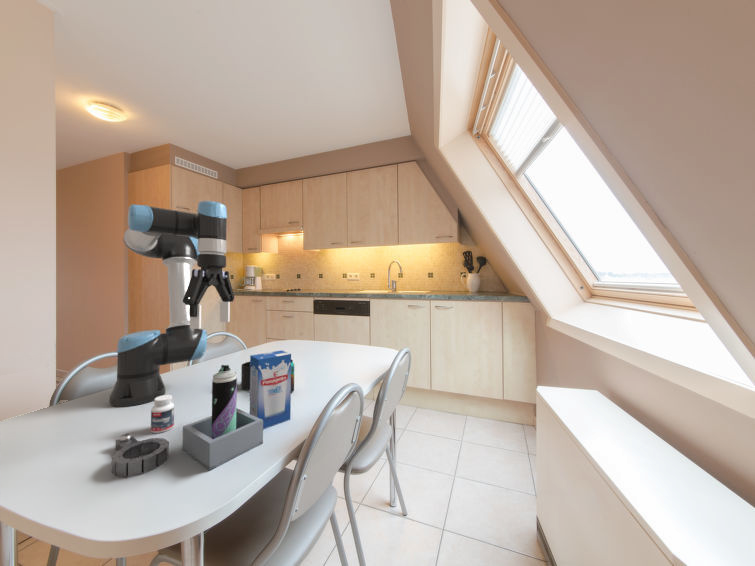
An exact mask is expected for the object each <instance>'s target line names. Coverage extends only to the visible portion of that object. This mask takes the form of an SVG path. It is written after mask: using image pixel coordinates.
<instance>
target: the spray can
mask: <svg viewBox="0 0 755 566" xmlns="http://www.w3.org/2000/svg"><path fill="white" fill-rule="evenodd" d="M237 376H238V375H237V371H233V370H232V369H231V368H230V365H229V364H222V365H221V367H220V369H219V370H218V372H216V373H214V374H213V375H212V380H211V382H212V383H211V384H212V386H211V387H212V388H211V389H212V390H211V416H212V439H215V438H217V437H220V436H222V435H224V434H227V433H229V432H231V431H233V430H236V408H237V401H238V400H237V396H238V395H237V392H238V391H237V388H238V384H237V383H238V382H237V381H238V377H237Z"/></svg>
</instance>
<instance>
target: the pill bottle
mask: <svg viewBox="0 0 755 566" xmlns="http://www.w3.org/2000/svg"><path fill="white" fill-rule="evenodd" d="M153 401H154V406H152V407H151V409H150V432H151V433H153V434H162V433H165V432H167V431H170V430H172V429H173V428H174V426H175V404H174V403H173V402H172V401H173V395H171V394H164V395H163V396H159V397H156V398H155V399H154V400H153Z"/></svg>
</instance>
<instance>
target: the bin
mask: <svg viewBox="0 0 755 566" xmlns="http://www.w3.org/2000/svg"><path fill="white" fill-rule="evenodd" d="M262 444H264V429H263V420H262V419H260V418H257V417H255V416H253V415H251V414H250V412H249V413H248V412H246V411H245V410H243V409H239V408H237V407H236V430H233V431H231V432H229V433H227V434H224V435H222V436H220V437H217V438H215V439H212V415H211V416H208V417H205V418H202V419H199V420H197V421H194V422H191V423H188V424H186V425H183V426H182V451H183V452H184V453H185V454H186V455H188V456H189V457H190V458H192V459H193V460H194V461H196V462H197V463H198V464H200V465H201V466H202V467H204V468H205V469H207V470H208V471H211V470H212V471H213V470H214V469H216V468H217V467H220V466H222V465H224V464H225V463H228V462H229V461H231V460H233V459H235V458H237V457H239V456H241V455H243V454H245V453H247V452H249V451H251V450H253V449H254V448H256V447H258V446H261V445H262Z"/></svg>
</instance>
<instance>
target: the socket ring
mask: <svg viewBox="0 0 755 566" xmlns="http://www.w3.org/2000/svg"><path fill="white" fill-rule="evenodd" d="M114 447H115V449H116V450H117V451H116V452H115V453H114V455H113V456H112V458H111V474H112V475H113V476H114V477H115V478H123V479H124V478H125V479H126V478H131V477H137V476H140V475H142V474H146V473H149V472H150V471H153V470H154V469H157V468H159V467H160V466H161V465H163V464H164V463H165V462H166V461H167V460H168V457H169V456H170V442H169V440H168V439H166V438H164V437H162V438H161V437H160V438H159V437H158V438H157V437H155V438H148V439H142V440H138V439H136V437H134V436H133V433H124V434H122V435H120V436H119V437H118V439H115V445H114Z"/></svg>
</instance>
